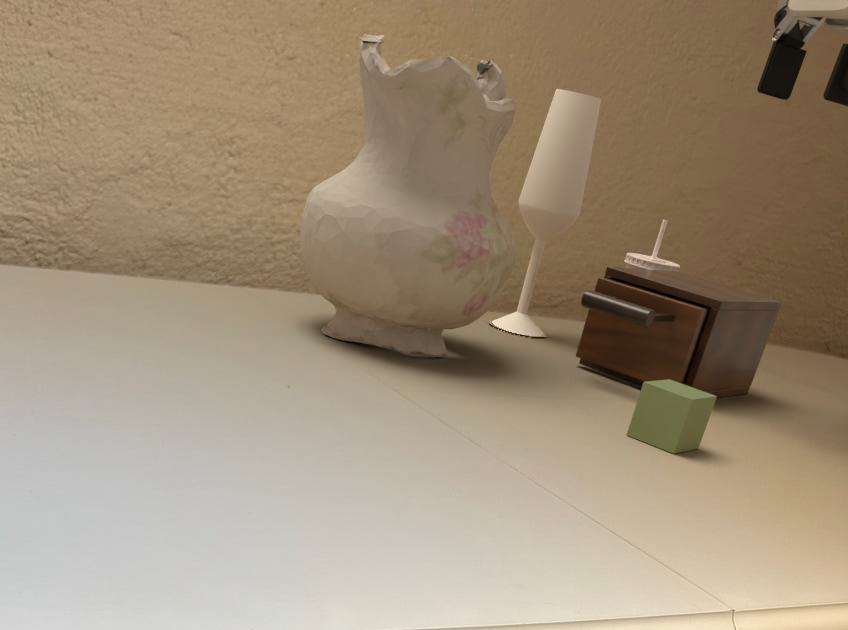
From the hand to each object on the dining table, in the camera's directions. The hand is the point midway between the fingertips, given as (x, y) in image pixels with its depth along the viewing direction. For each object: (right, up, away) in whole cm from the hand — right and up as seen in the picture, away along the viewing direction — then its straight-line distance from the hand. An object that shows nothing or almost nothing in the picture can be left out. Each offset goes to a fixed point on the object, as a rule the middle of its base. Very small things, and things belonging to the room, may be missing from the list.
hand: (804, 99), depth 89 cm
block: (-13, -30, -5) cm, 33 cm away
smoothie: (-6, -11, +36) cm, 38 cm away
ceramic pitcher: (-35, -18, +10) cm, 41 cm away
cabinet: (-6, -19, +20) cm, 28 cm away
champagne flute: (-21, -11, +28) cm, 37 cm away
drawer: (-10, -19, +16) cm, 27 cm away
